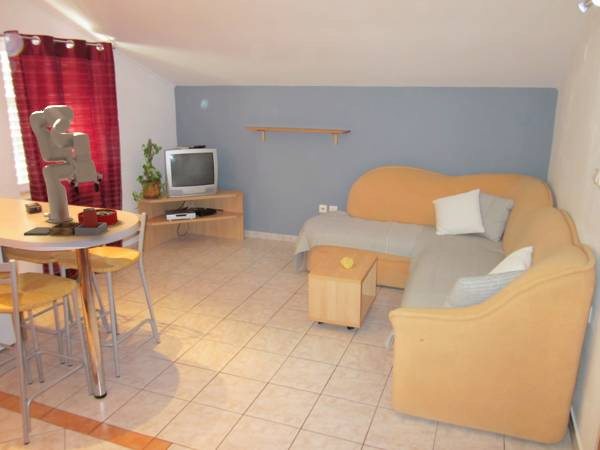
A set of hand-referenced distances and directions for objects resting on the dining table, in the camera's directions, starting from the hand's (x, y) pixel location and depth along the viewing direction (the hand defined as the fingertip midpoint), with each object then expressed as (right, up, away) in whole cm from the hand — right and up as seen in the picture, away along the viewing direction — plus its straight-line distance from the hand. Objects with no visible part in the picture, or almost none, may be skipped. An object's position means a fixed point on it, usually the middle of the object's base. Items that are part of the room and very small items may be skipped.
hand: (87, 193), depth 257 cm
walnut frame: (-13, -20, +6) cm, 24 cm away
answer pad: (-26, -20, +6) cm, 33 cm away
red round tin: (-4, -15, +25) cm, 29 cm away
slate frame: (0, -20, +5) cm, 20 cm away
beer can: (0, -20, +5) cm, 20 cm away
